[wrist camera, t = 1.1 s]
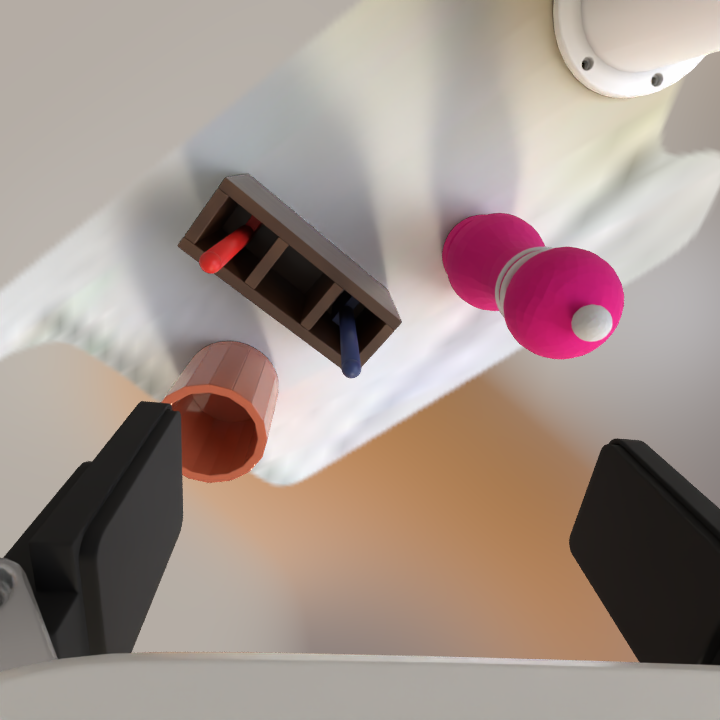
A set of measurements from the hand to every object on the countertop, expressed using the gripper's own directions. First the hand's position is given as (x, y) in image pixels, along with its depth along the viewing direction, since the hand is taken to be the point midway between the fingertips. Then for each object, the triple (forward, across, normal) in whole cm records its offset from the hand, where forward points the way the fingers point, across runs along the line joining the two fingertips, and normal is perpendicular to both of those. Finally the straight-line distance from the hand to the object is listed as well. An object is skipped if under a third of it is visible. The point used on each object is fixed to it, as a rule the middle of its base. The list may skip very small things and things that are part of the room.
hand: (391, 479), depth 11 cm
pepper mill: (+32, -11, -1) cm, 34 cm away
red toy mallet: (+31, +7, -1) cm, 32 cm away
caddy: (+32, +4, +2) cm, 32 cm away
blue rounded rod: (+31, 0, +4) cm, 31 cm away
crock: (+32, +9, +13) cm, 36 cm away
